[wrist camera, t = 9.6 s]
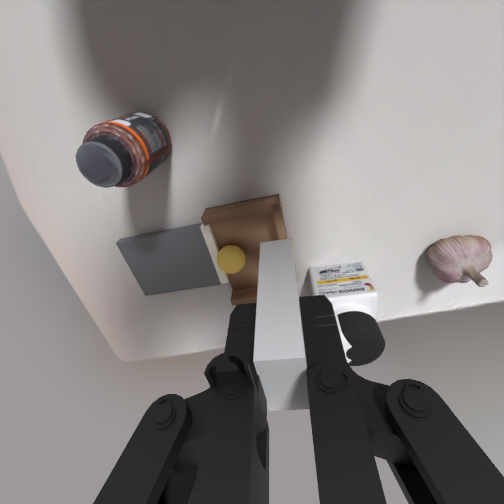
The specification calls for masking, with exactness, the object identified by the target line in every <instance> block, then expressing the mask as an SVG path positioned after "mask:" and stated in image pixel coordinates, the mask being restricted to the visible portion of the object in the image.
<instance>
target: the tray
mask: <svg viewBox="0 0 504 504" xmlns="http://www.w3.org/2000/svg"><path fill="white" fill-rule="evenodd" d="M201 220H202V222H203V225H208V224H210V225H211V228H212V231H213V233H214V236H215V239H216V242H217V245H218V248H219V251H220V250H221V249H222V248H223V247H225V246H228V245H234V246H237V247H239V248H240V249H242V251H243V252H244V254H245V265H244V267H243V268H242V269H241V270H240V271H239V272H237V273H233V274H229V273H227V274H228V277H229V280H230V283H231V285H232V288H233V291H232V296H231V303H232V305H239V304H247V303H254V302H257V290H258V274H259V257H260V243H262V242H269V241H276V240H283V239H288V238H287V233H286V228H285V223H284V218H283V212H282V207H281V202H280V197H279V194H276V195H271V196H266V197H261V198H256V199H251V200H247V201H242V202H237V203H232V204H227V205H222V206H217V207H212V208H207V209H205V211H204V213H203V215H202V218H201Z"/></svg>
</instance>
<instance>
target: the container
mask: <svg viewBox="0 0 504 504" xmlns="http://www.w3.org/2000/svg"><path fill="white" fill-rule="evenodd" d="M309 276H310V284H311V292H312V296H315V295H325V296H326V297H327V298H328V299H329V301H330V302H331V303H332V306H333V309H334V313H335V317H336V321H337V325H338V329H339V333H340V337H341V341H342V345H343V349H344V352H345V356H346V360H347V362H348V365H349V366H360V365H365V364H368V363H371V362H373V361H374V360H376V359H377V358H378V357H379V356H380V355H381V354H382V352H383V350H384V348H385V340H384V338H383V336H382V333H381V331H380V329H379V326H378V324H377V310H378V293H377V291H376V289H375V287H374V285H373V283H372V281H371V279H370V277H369V275H368V272H367V270H366V268H365V266H364V264H363V262H362V261H361V260H358V261H350V262H343V263H335V264H328V265H320V266H313V267H310V268H309Z"/></svg>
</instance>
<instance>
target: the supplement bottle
mask: <svg viewBox="0 0 504 504" xmlns="http://www.w3.org/2000/svg"><path fill="white" fill-rule="evenodd" d="M170 149H171V138H170V135H169V132H168V130H167V128H166V127H165V125H164V124H163V123H162V122H161V121H160V120H159V119H158V118H157V117H155V116H153V115H151V114H149V113H145V112H138V113H132V114H129V115H126V116H122V117H120V118H116V119H113V120H110V121H106V122H103V123H100V124H98V125H96V126H94V127H92V128H91V129H90V130H89V131H88V132H87V133H86V135H85V137H84V140H83V144H82V145H81V146H80V147H79V148H78V150H77V154H76V162H77V166H78V168H79V170H80V172H81V173H82V175H83V176H84V177H85V178H86V179H87V180H88V181H90V182H91V183H93V184H95V185H97V186H100V187H106V188H108V187H113V186H116V187H129V186H132V185H134V184H136V183H138V182H139V181H140V180H142V179H143V178H144V177H145V176H147V175H148V174H149V173H150V172H151V171H153V170H154V169H155V168H156V167H157V166H159V165H160V164H161V163H162V162H163V161H164V160H165V159H166V158H167V157H168V155H169V153H170Z"/></svg>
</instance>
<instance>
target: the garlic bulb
mask: <svg viewBox="0 0 504 504" xmlns="http://www.w3.org/2000/svg"><path fill="white" fill-rule="evenodd" d="M426 258H427V260H428V261H429V262H430V263H431V265H432V267H433V272H434V274H435V275H436V276H437V277H438V278H439V279H440V280H442V281H445V282H449V283H454V282H459V283H466V282H469V281H470V280H471V279H472V280H473V281H474V282H475V283H476V284H477V285H478V286H479V287H484V286H486V285H488V281H487V280H486V279H485V278H484V277H483V276H482V275H481V274H480V272H482V271H483V270H485V269H486V268H487V267H488V266H489V264H490V262H491V260H492V252H491V245H490V243H489V241H488V240H487V239H485V238H483V237H480V236H473V235H466V236H452V237H449V238H447V239H440V240H438V241H437V242H436V243H435V244H434V245H433V246H432V247H430V248H429V249H428V250H427V252H426Z"/></svg>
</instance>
